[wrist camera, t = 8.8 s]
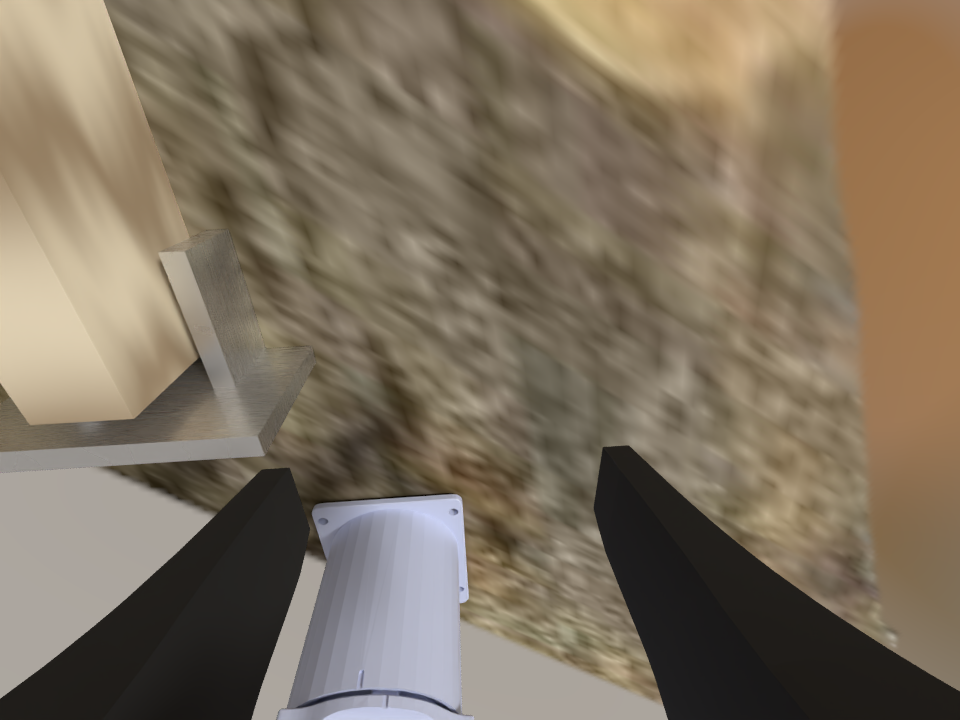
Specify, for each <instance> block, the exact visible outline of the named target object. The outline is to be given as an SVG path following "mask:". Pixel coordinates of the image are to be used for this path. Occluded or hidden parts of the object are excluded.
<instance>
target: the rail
mask: <svg viewBox="0 0 960 720" xmlns="http://www.w3.org/2000/svg"><path fill="white" fill-rule="evenodd" d="M188 238H189V235H188V232H187V229H186V227H185V224H184V221H183V218H182V216H181V213H180V210H179V207H178V205H177V202H176V199H175V196H174V194H173V191H172V188H171V185H170V183H169V180H168V177H167V174H166V172H165V169H164V166H163V163H162V161H161V158H160V155H159V152H158V150H157V147H156V144H155V141H154V139H153V136H152V133H151V130H150V128H149V125H148V122H147V119H146V117H145V114H144V111H143V108H142V106H141V103H140V100H139V97H138V95H137V92H136V89H135V86H134V84H133V81H132V78H131V75H130V73H129V70H128V67H127V64H126V62H125V59H124V56H123V53H122V51H121V48H120V45H119V42H118V40H117V37H116V34H115V31H114V29H113V26H112V23H111V20H110V18H109V15H108V12H107V9H106V7H105V4H104V1H103V0H0V383H1V385H2V386H3V387H4V389H5V390H6V392H7V393H8V395H9V396H10V397H11V399H12V400H13V402H14V403H15V405H16V406H17V407H18V409H19V410H20V412H21V413H22V415H23V416H24V417H25V419H26V420H27V422H28V423H29V425H40V424H57V423H74V422H91V421H108V420H125V419H135V418H136V417H137V416H138V415H139V414H140V413H141V412H142V411H143V410H144V409H145V408H146V407H147V406H148V405H149V404H150V403H151V402H153V401H154V400H155V399H156V398H157V397H158V396H159V395H160V394H161V393H162V392H163V391H164V390H165V389H166V388H167V387H168V386H169V385H170V384H171V383H173V382H174V381H175V380H176V379H177V378H178V377H179V376H180V375H181V374H182V373H183V372H184V371H185V370H186V369H187V368H188V367H189V366H190V365H192V364H193V363H194V362H195V361H196V360H197V359H198V358H199V357H200V355H199V352H198V350H197V347H196V345H195V342H194V340H193V337H192V335H191V332H190V330H189V327H188V325H187V323H186V320H185V318H184V315H183V313H182V310H181V308H180V305H179V303H178V300H177V298H176V295H175V293H174V291H173V288H172V286H171V283H170V281H169V278H168V276H167V273H166V271H165V268H164V266H163V263H162V261H161V259H160V256H159V254H158V252H160V251H162V250H164V249H167V248H169V247H171V246H173V245H175V244H177V243H180V242H182V241H184V240H186V239H188Z"/></svg>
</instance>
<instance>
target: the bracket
mask: <svg viewBox="0 0 960 720" xmlns="http://www.w3.org/2000/svg"><path fill="white" fill-rule="evenodd" d="M158 254H159V256H160V259H161V261H162V263H163V266H164V268H165V271H166V273H167V276H168V278H169V281H170V283H171V286H172V288H173V291H174V293H175V295H176V298H177V300H178V303H179V305H180V308H181V310H182V313H183V315H184V318H185V320H186V323H187V325H188V327H189V330H190V332H191V335H192V337H193V340H194V342H195V345H196V347H197V350H198V352H199V355H200V357H199V358H198V359H197V360H196V361H195V362H194V363H193V364H192V365H190V366H189V367H188V368H187V369H186V370H185V371H184V372H183V373H182V374H181V375H180V376H179V377H178V378H177V379H176V380H175V381H174V382H173V383H171V384H170V385H169V386H168V387H167V388H166V389H165V390H164V391H163V392H162V393H161V394H160V395H159V396H158V397H157V398H156V399H155V400H154V401H153V402H151V403H150V404H149V405H148V406H147V407H146V408H145V409H144V410H143V411H142V412H141V413H140V414H139V415H138V416H137V417H136V418H135V419H125V420H108V421H91V422H74V423H57V424H40V425H29V423H28V422H27V420H26V419H25V417H24V416H23V415H22V413H21V412H20V410H19V409H18V407H17V406H16V405H15V403H14V402H13V400H12V399H11V397H10V398H8V399H7V400H5V401H4V402H2V403H0V473H5V472H6V473H7V472H21V471H38V470H53V469H68V468H84V467H100V466H115V465H131V464H146V463H162V462H177V461H193V460H208V459H224V458H239V457H255V456H265V455H266V453H267V451H268V449H269V447H270V445H271V444H272V442H273V440H274V438H275V436H276V434H277V433H278V431H279V429H280V427H281V425H282V423H283V422H284V420H285V418H286V416H287V414H288V412H289V411H290V409H291V407H292V405H293V403H294V401H295V400H296V398H297V396H298V394H299V392H300V390H301V389H302V387H303V385H304V383H305V381H306V379H307V378H308V376H309V374H310V372H311V370H312V369H313V367H314V365H315V363H316V360H315V356H314V352H313V348H312V346H301V347H283V348H266V347H265V344H264V341H263V338H262V334H261V331H260V328H259V325H258V322H257V319H256V315H255V312H254V309H253V306H252V303H251V300H250V296H249V293H248V290H247V287H246V284H245V280H244V277H243V274H242V271H241V268H240V265H239V261H238V258H237V255H236V252H235V249H234V246H233V242H232V239H231V236H230V233H229V230H228V229H227V230H206V231H204V232H202V233H199V234H197V235H195V236H193V237H191V238H188V239H186V240H184V241H182V242H180V243H177V244H175V245H173V246H171V247H169V248H167V249H164V250H162V251H160V252H158Z"/></svg>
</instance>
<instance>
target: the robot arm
mask: <svg viewBox="0 0 960 720" xmlns="http://www.w3.org/2000/svg"><path fill="white" fill-rule="evenodd" d="M452 509H455V510H452ZM594 512H595V516H596V519H597V523H598V527H599V531H600V534H601V538H602V541H603V545H604V548H605V552H606V554H607V557H608V559H609V562H610V564H611V567H612V569H613V572H614V574H615V577H616V579H617V582H618V584H619V587H620V589H621V592H622V594H623V597H624V599H625V602H626V604H627V607H628V609H629V612H630V614H631V617H632V619H633V622H634V624H635V627H636V629H637V631H638V634H639V636H640V639H641V641H642V644H643V646H644V649H645V651H646V654H647V657H648V659H649V662H650V665H651V668H652V670H653V673H654V676H655V679H656V682H657V685H658V689H659V692H660V695H661V698H662V702H663V705H664V708H665V711H666V714H667V718H668V720H960V691H958V690H956V689H955V688H953V687H951V686H949V685H948V684H946V683H944V682H943V681H941V680H939V679H937V678H936V677H934V676H932V675H930V674H929V673H927V672H926V671H924V670H922V669H920V668H919V667H917V666H916V665H914V664H912V663H911V662H909V661H907V660H906V659H904V658H902V657H901V656H899V655H898V654H896V653H894V652H893V651H891V650H889V649H888V648H886V647H885V646H883V645H882V644H880V643H878V642H877V641H875V640H874V639H872V638H871V637H869V636H868V635H866V634H865V633H863V632H861V631H860V630H858V629H857V628H855V627H854V626H852V625H851V624H849V623H847V622H846V621H844V620H843V619H841V618H840V617H838V616H837V615H835V614H834V613H832V612H831V611H829V610H828V609H826V608H825V607H823V606H822V605H820V604H819V603H818V602H816V601H815V600H813V599H812V598H810V597H809V596H808V595H806V594H805V593H803V592H802V591H801V590H799V589H798V588H797V587H795V586H794V585H792V584H791V583H790V582H788V581H787V580H785V579H784V578H783V577H781V576H780V575H778V574H777V573H776V572H774V571H773V570H772V569H770V568H769V567H768V566H766V565H765V564H764V563H762V562H761V561H760V560H758V559H757V558H756V557H755V556H753V555H752V554H751V553H750V552H748V551H747V550H746V549H745V548H743V547H742V546H741V545H740V544H738V543H737V542H736V541H735V540H733V539H732V538H731V537H730V536H728V535H727V534H726V533H725V532H724V531H722V530H721V529H720V528H719V527H718V526H716V525H715V524H714V523H713V522H712V521H711V520H709V519H708V518H707V517H706V516H705V515H704V514H703V513H701V512H700V511H699V510H698V509H697V508H696V507H695V506H693V505H692V504H691V503H690V502H689V501H688V500H687V499H686V498H684V497H683V496H682V495H681V494H680V493H679V492H678V491H677V490H676V489H675V488H674V487H672V486H671V485H670V484H669V483H668V482H667V481H666V480H665V479H664V478H663V477H662V476H661V475H660V474H659V473H657V472H656V471H655V470H654V469H653V468H652V467H651V466H650V465H649V464H648V463H647V462H646V461H645V460H644V459H643V458H642V457H640V456H639V455H638V454H637V453H636V452H635V451H634V450H633V449H632V448H631V447H630V446H613V447H603V450H602V457H601V463H600V470H599V476H598V483H597V489H596V496H595V503H594ZM312 517H313V520H314V523H315V526H316V529H317V532H318V535H319V538H320V541H321V544H322V547H323V550H324V553H325V557H326V560H327V563H326V567H325V571H324V574H323V578H322V582H321V585H320V589H319V593H318V596H317V600H316V603H315V607H314V611H313V614H312V618H311V621H310V625H309V629H308V633H307V636H306V640H305V644H304V647H303V651H302V654H301V658H300V662H299V665H298V669H297V672H296V676H295V680H294V683H293V687H292V691H291V694H290V698H289V702H288V705H287V709H281V710H279V712H278V715H277V719H276V720H474V717H473V716H472V715H462V690H461V651H460V650H461V649H460V648H461V647H460V604H459V603H463V602H465V601H467V600H468V598H469V595H468V579H467V565H466V550H465V535H464V521H463V506H462V498H461V497H460V496H459V495H456V494H447V495H432V496H418V497H403V498H389V499H375V500H360V501H346V502H332V503H320V504H317V505H315V506H314V508H313V511H312ZM323 518H325V519H323ZM309 531H310V527H309V524H308V521H307V518H306V515H305V512H304V509H303V506H302V503H301V500H300V498H299V495H298V492H297V489H296V486H295V483H294V480H293V477H292V474H291V471H290V468H279V469H264V470H261V471H260V472H259V473H258V474H257V475H256V476H255V477H254V478H253V479H252V480H251V481H250V482H249V483H248V484H247V485H246V486H245V487H244V488H243V489H242V490H241V491H240V492H239V493H238V494H237V495H236V496H235V497H234V498H233V499H232V500H231V501H230V502H229V503H228V504H227V505H226V506H225V507H224V508H223V509H222V510H221V511H220V512H219V513H218V514H217V515H216V516H215V517H214V518H213V519H211V520H210V521H209V522H208V524H206V525H205V526H204V527H203V528H202V529H201V530H200V531H199V532H198V533H197V534H196V535H195V536H194V537H193V538H192V539H191V540H190V541H189V542H188V543H187V544H186V545H185V546H184V547H183V548H182V549H181V550H180V551H179V552H177V553H176V554H175V555H174V556H173V557H172V558H171V559H170V560H169V561H168V562H167V563H165V564H164V565H163V566H162V567H161V568H160V569H159V570H158V571H156V572H155V573H154V574H153V575H152V576H151V577H150V578H149V579H148V580H147V581H145V582H144V583H143V584H142V585H141V586H140V587H139V588H138V589H137V590H136V591H134V592H133V593H132V594H131V595H130V596H129V597H128V598H127V599H126V600H124V601H123V602H122V603H121V604H120V605H119V606H118V607H116V608H115V609H114V610H113V611H112V612H110V613H109V614H108V615H107V616H106V617H105V618H103V619H102V620H101V621H100V622H98V623H97V624H96V625H95V626H94V627H92V628H91V629H90V630H89V631H88V632H86V633H85V634H84V635H83V636H81V637H80V638H79V639H78V640H76V641H75V642H74V643H73V644H71V645H70V646H69V647H68V648H66V649H65V650H64V651H63V652H62V653H60V654H59V655H58V656H57V657H55V658H54V659H53V660H51V661H50V662H49V663H47V664H46V665H45V666H44V667H42V668H41V669H40V670H38V671H37V672H36V673H34V674H33V675H32V676H30V677H29V678H28V679H26V680H25V681H24V682H22V683H21V684H20V685H18V686H17V687H16V688H14V689H13V690H11V691H10V692H9V693H7V694H6V695H5V696H3V697H2V698H1V699H0V720H251V719H252V715H253V711H254V708H255V705H256V702H257V699H258V695H259V692H260V689H261V686H262V683H263V680H264V677H265V674H266V672H267V669H268V666H269V663H270V660H271V657H272V654H273V652H274V649H275V646H276V643H277V640H278V637H279V634H280V631H281V629H282V626H283V623H284V620H285V617H286V614H287V612H288V608H289V606H290V603H291V600H292V597H293V594H294V591H295V588H296V585H297V582H298V579H299V576H300V573H301V568H302V564H303V560H304V556H305V551H306V546H307V541H308V536H309Z"/></svg>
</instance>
